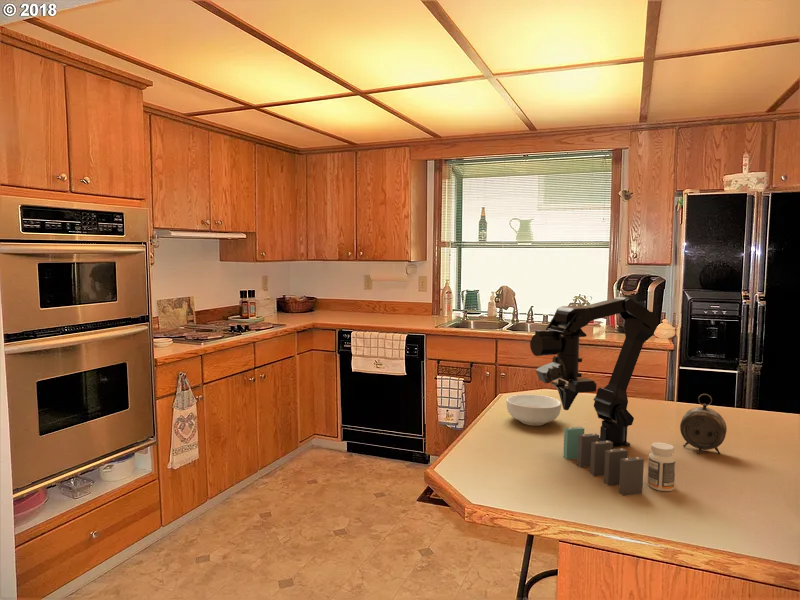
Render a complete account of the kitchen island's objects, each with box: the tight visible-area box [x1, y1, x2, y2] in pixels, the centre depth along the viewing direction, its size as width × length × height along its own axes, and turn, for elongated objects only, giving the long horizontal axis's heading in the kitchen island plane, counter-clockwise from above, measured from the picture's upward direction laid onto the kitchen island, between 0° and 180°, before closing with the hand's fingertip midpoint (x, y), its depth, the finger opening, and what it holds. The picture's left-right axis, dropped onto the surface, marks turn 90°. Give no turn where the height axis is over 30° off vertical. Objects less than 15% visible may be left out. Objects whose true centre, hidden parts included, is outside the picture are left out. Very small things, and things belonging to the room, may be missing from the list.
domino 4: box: [603, 448, 629, 487], centre depth 131 cm, size 5×2×8 cm, turn 105°
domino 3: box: [589, 441, 614, 477], centre depth 136 cm, size 5×2×8 cm, turn 105°
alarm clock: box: [679, 393, 728, 455], centre depth 151 cm, size 11×5×16 cm, turn 56°
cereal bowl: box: [505, 393, 562, 427], centre depth 177 cm, size 17×17×7 cm
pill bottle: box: [647, 441, 677, 492], centre depth 129 cm, size 6×6×10 cm
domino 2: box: [576, 432, 600, 468], centre depth 141 cm, size 5×2×8 cm, turn 105°
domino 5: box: [618, 456, 645, 497], centre depth 126 cm, size 5×2×8 cm, turn 105°
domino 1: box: [562, 426, 585, 461], centre depth 147 cm, size 5×2×8 cm, turn 105°
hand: (565, 409), depth 151 cm, fingers closed
